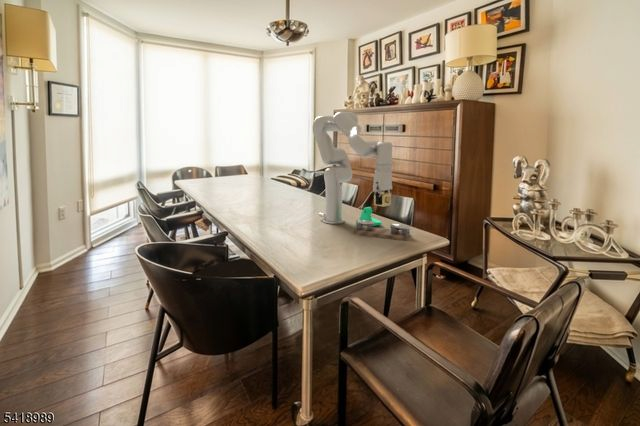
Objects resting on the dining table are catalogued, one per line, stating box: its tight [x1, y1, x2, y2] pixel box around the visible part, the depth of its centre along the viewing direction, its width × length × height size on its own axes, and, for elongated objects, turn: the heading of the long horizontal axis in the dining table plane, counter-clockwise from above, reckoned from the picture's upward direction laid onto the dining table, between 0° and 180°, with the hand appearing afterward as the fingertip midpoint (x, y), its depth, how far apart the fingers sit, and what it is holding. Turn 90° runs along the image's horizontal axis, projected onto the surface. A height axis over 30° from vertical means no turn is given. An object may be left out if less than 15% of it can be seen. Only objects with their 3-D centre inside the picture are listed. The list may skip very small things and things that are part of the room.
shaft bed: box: [353, 226, 411, 241], centre depth 182 cm, size 26×11×2 cm, turn 66°
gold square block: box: [373, 191, 392, 207], centre depth 179 cm, size 7×6×6 cm
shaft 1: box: [355, 219, 375, 231], centre depth 185 cm, size 9×4×5 cm, turn 76°
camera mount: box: [359, 206, 382, 227], centre depth 200 cm, size 12×8×10 cm, turn 23°
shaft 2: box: [389, 222, 411, 236], centre depth 178 cm, size 9×4×5 cm, turn 56°
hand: (382, 203), depth 179 cm, fingers closed on gold square block, 6 cm apart
